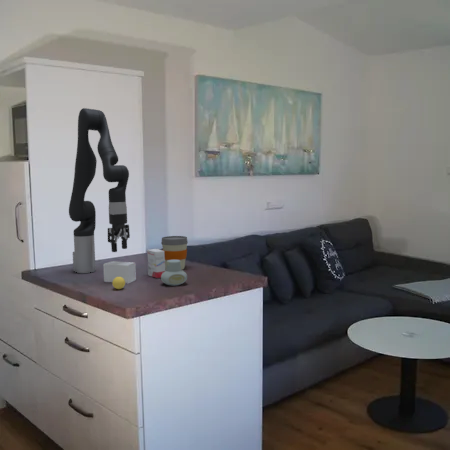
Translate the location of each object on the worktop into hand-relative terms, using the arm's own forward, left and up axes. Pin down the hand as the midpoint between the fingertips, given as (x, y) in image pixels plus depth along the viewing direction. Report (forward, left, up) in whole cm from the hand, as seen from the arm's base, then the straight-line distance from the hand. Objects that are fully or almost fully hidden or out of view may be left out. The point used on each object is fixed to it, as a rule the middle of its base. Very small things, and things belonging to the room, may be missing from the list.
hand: (119, 250), depth 217 cm
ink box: (+11, +13, -14) cm, 22 cm away
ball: (+7, -13, -11) cm, 18 cm away
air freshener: (+25, +1, -14) cm, 28 cm away
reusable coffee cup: (+12, +31, -14) cm, 36 cm away
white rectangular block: (0, 0, -13) cm, 13 cm away
